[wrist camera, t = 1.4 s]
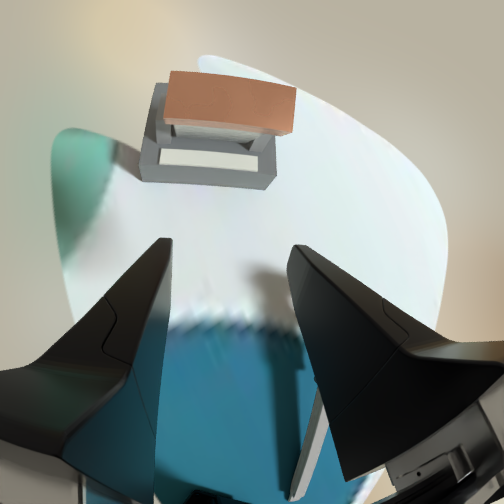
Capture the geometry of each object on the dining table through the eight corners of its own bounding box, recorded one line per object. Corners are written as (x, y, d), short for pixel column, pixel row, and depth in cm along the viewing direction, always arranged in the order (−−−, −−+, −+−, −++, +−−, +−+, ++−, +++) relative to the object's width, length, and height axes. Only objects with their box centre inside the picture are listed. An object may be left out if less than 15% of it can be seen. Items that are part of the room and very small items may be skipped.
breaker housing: (264, 190, 24) (291, 157, 18) (142, 181, 21) (133, 143, 15) (263, 114, 25) (284, 73, 19) (156, 103, 23) (155, 57, 17)
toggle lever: (248, 147, 20) (292, 132, 12) (171, 141, 19) (163, 117, 11) (252, 119, 20) (296, 87, 11) (175, 112, 18) (170, 70, 10)
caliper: (312, 296, 23) (354, 293, 17) (323, 297, 24) (368, 294, 18) (286, 499, 19) (313, 535, 13) (297, 497, 20) (325, 532, 14)
